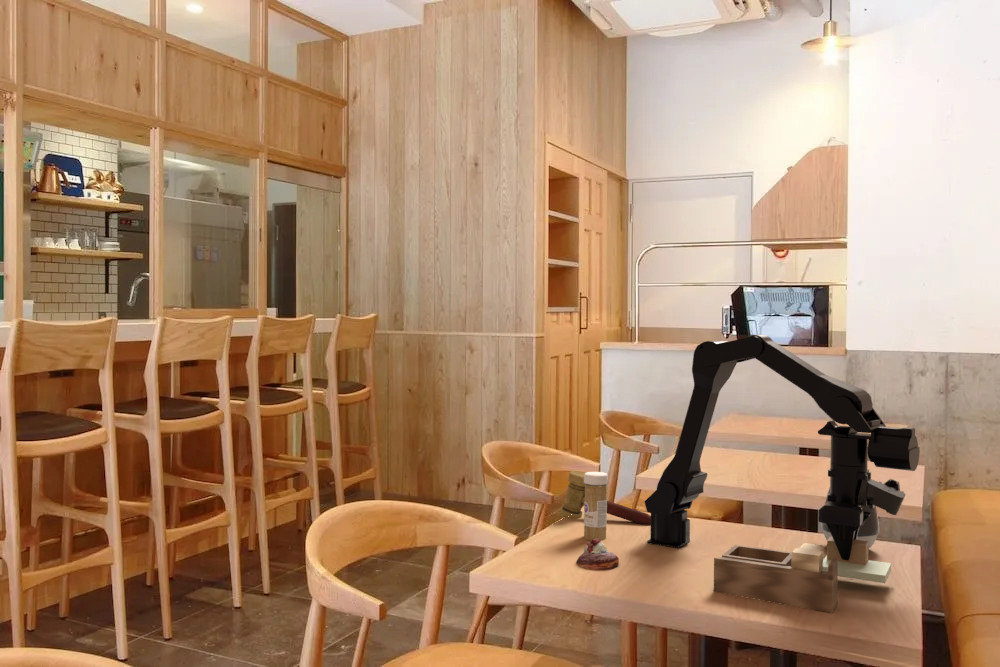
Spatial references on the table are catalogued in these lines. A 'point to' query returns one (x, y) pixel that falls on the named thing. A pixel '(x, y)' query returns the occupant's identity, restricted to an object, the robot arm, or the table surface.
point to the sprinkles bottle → (595, 505)
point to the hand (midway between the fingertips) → (847, 557)
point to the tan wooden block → (808, 557)
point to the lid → (857, 563)
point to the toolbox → (775, 578)
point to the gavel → (577, 499)
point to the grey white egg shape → (866, 530)
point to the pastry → (597, 557)
